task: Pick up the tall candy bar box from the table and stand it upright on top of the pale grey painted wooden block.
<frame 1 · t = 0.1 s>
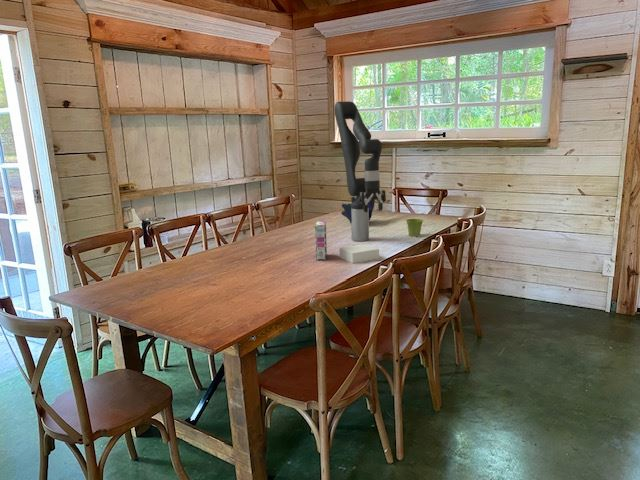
hand: (373, 211, 241), 17 cm above the table, tool pointing down, fingers open, 8 cm apart
plant pot: (414, 235, 262), on the table
candy bar box: (321, 257, 223), on the table
grey block: (359, 258, 219), on the table
decorative plant: (358, 223, 304), on the table
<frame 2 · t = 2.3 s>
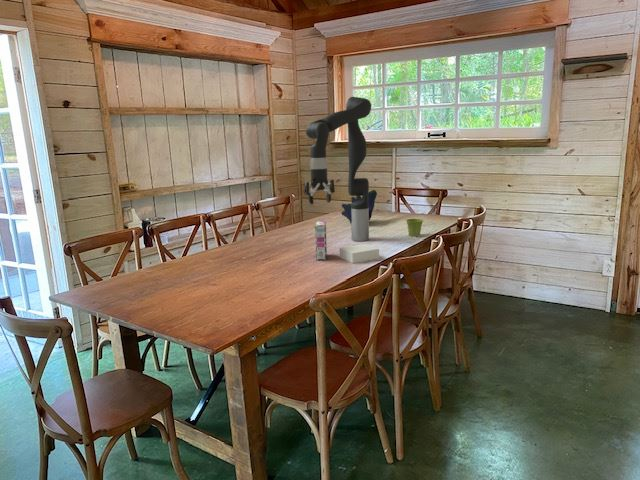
hand: (320, 203, 217), 26 cm above the table, tool pointing down, fingers open, 8 cm apart
nothing on the table moved.
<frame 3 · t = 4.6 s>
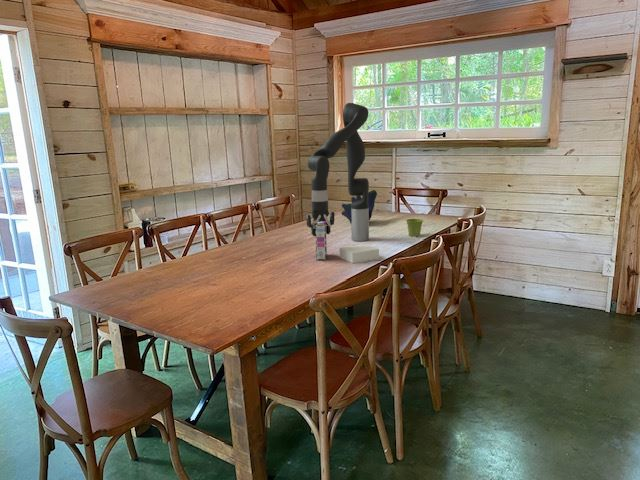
hand: (321, 235, 221), 11 cm above the table, tool pointing down, fingers closed on candy bar box, 6 cm apart
candy bar box: (321, 257, 223), on the table, touching gripper
everything else where it was.
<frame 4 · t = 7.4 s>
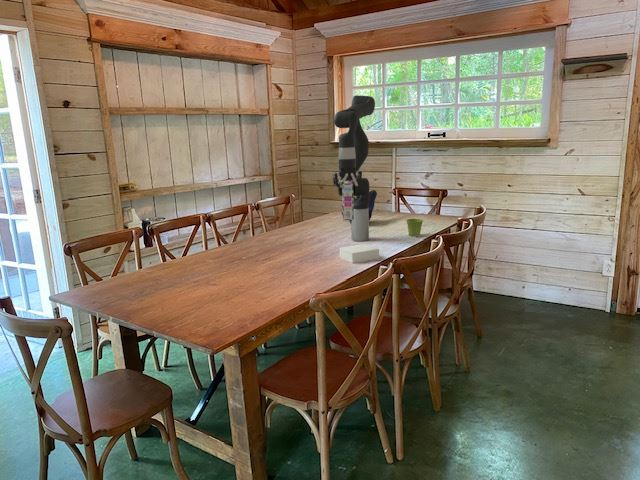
hand: (347, 194, 214), 29 cm above the table, tool pointing down, fingers closed on candy bar box, 6 cm apart
candy bar box: (348, 218, 216), point 18 cm above the table, touching gripper
everything else where it was.
when the fingers open (17 cm above the table, at t = 10.4 s): candy bar box drops 2 cm, resting on grey block.
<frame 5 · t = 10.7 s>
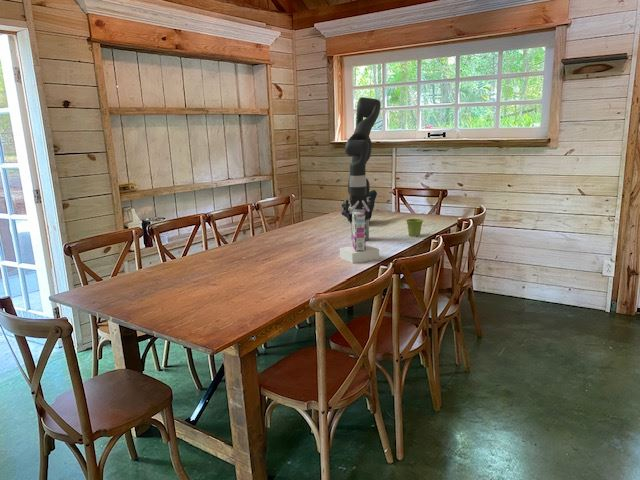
hand: (358, 220, 215), 18 cm above the table, tool pointing down, fingers open, 8 cm apart
candy bar box: (359, 249, 218), point 4 cm above the table, touching grey block
grey block: (359, 259, 219), on the table, touching candy bar box
everything else where it was.
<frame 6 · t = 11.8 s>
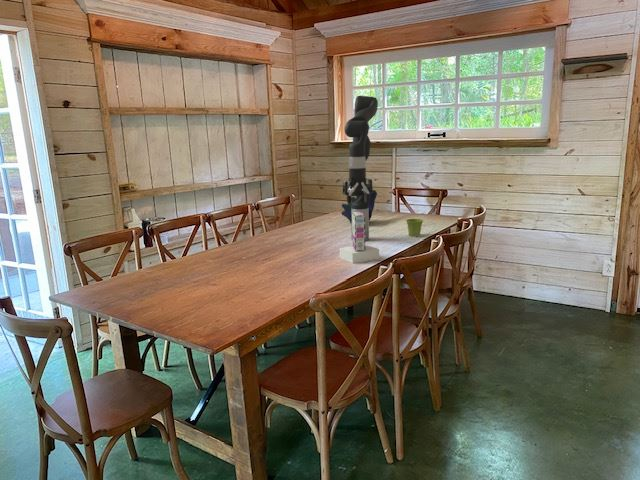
hand: (357, 203, 213), 26 cm above the table, tool pointing down, fingers open, 8 cm apart
candy bar box: (359, 248, 218), point 4 cm above the table
grey block: (359, 259, 219), on the table
everything else where it was.
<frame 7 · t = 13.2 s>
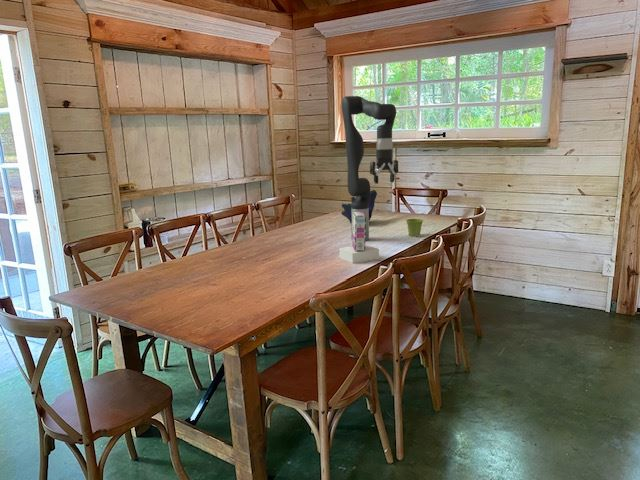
hand: (384, 182, 224), 33 cm above the table, tool pointing down, fingers open, 8 cm apart
nothing on the table moved.
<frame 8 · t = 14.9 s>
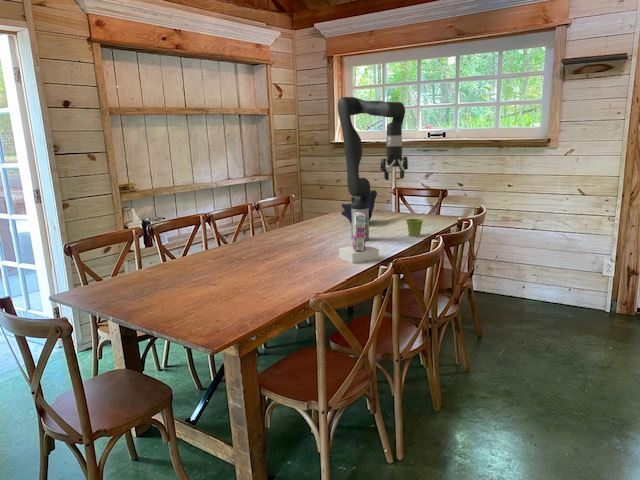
hand: (394, 179, 229), 34 cm above the table, tool pointing down, fingers open, 8 cm apart
candy bar box: (358, 249, 218), point 4 cm above the table, touching grey block
grey block: (358, 259, 219), on the table, touching candy bar box
everything else where it was.
at the end: candy bar box inside the target area on the grey block (0.5 cm from its centre), point 5.0 cm above the grey block's base; candy bar box tilted 3°; the gripper is holding nothing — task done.
